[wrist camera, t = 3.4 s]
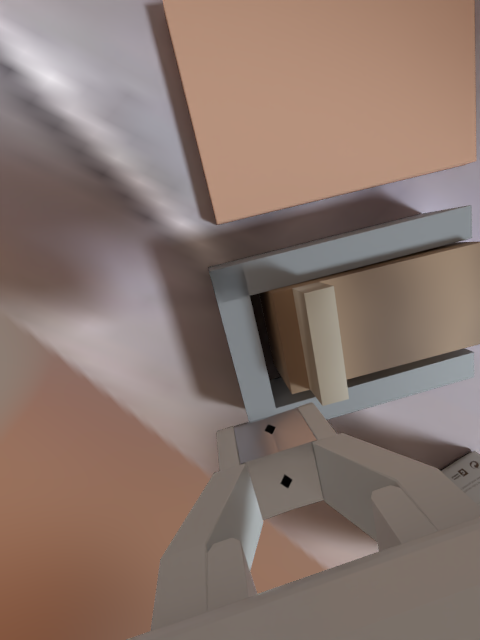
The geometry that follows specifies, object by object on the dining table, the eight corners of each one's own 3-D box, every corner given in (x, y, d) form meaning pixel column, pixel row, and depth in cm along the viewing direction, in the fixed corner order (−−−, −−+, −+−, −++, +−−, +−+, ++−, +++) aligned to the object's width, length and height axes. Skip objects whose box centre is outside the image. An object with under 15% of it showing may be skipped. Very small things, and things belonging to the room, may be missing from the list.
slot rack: (423, 213, 16) (471, 205, 13) (431, 356, 18) (474, 377, 15) (208, 267, 15) (208, 271, 12) (246, 409, 18) (254, 440, 15)
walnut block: (419, 243, 17) (520, 240, 11) (423, 323, 18) (515, 353, 13) (256, 283, 16) (281, 298, 11) (272, 362, 17) (302, 411, 12)
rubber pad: (458, -43, 13) (473, -61, 12) (462, 165, 15) (476, 160, 15) (165, 16, 12) (162, 0, 12) (217, 225, 15) (217, 223, 14)
